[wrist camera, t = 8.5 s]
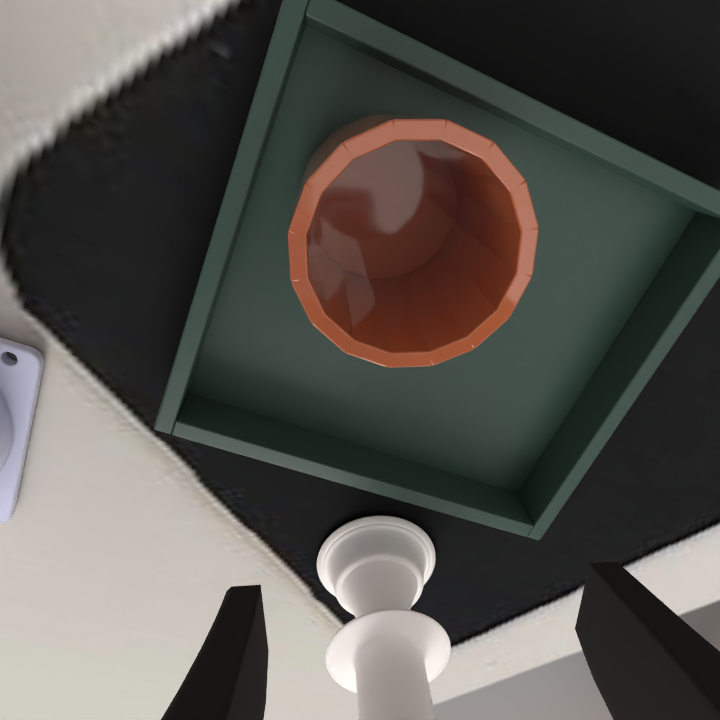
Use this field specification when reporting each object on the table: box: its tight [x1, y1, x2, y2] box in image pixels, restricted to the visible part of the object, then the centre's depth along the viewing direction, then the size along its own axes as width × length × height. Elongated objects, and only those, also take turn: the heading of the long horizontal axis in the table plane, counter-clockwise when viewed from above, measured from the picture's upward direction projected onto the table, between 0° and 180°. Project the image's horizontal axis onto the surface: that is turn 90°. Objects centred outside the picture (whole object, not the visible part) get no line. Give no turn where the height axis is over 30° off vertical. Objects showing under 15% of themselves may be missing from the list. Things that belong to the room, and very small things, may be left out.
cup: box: [288, 114, 539, 368], centre depth 15 cm, size 5×5×6 cm
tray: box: [154, 0, 720, 540], centre depth 19 cm, size 15×14×2 cm
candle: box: [317, 515, 451, 720], centre depth 19 cm, size 5×5×12 cm
